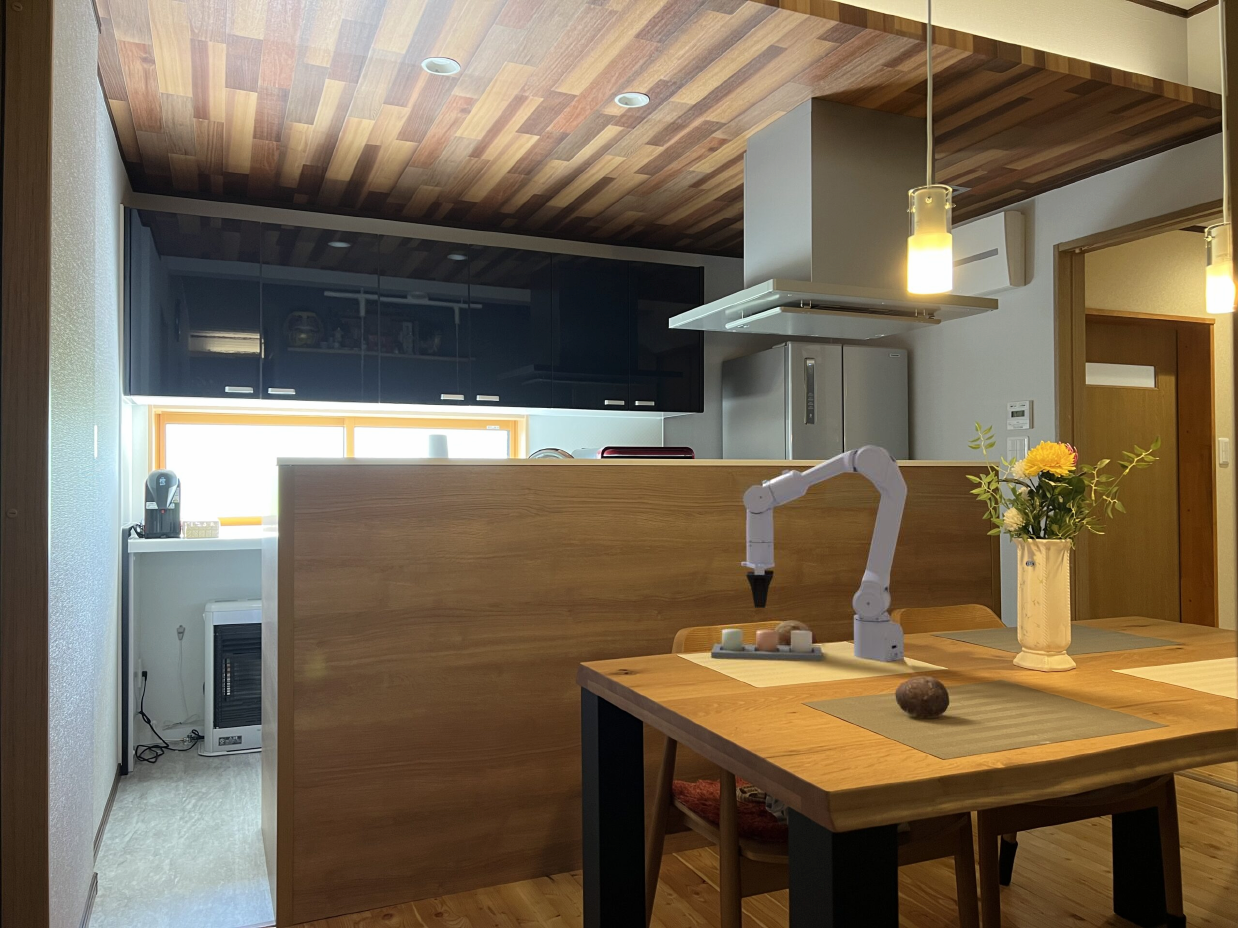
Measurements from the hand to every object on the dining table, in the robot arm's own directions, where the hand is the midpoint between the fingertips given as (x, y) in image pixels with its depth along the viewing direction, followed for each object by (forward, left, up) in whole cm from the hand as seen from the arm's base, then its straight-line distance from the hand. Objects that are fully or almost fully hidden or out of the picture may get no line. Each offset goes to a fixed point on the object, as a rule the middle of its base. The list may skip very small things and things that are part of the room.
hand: (760, 605), depth 201 cm
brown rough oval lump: (-53, +16, -11) cm, 56 cm away
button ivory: (-11, 0, -9) cm, 15 cm away
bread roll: (+2, -12, -11) cm, 16 cm away
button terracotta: (-6, +4, -9) cm, 12 cm away
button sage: (-1, +9, -9) cm, 13 cm away
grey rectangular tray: (-6, +4, -10) cm, 13 cm away
